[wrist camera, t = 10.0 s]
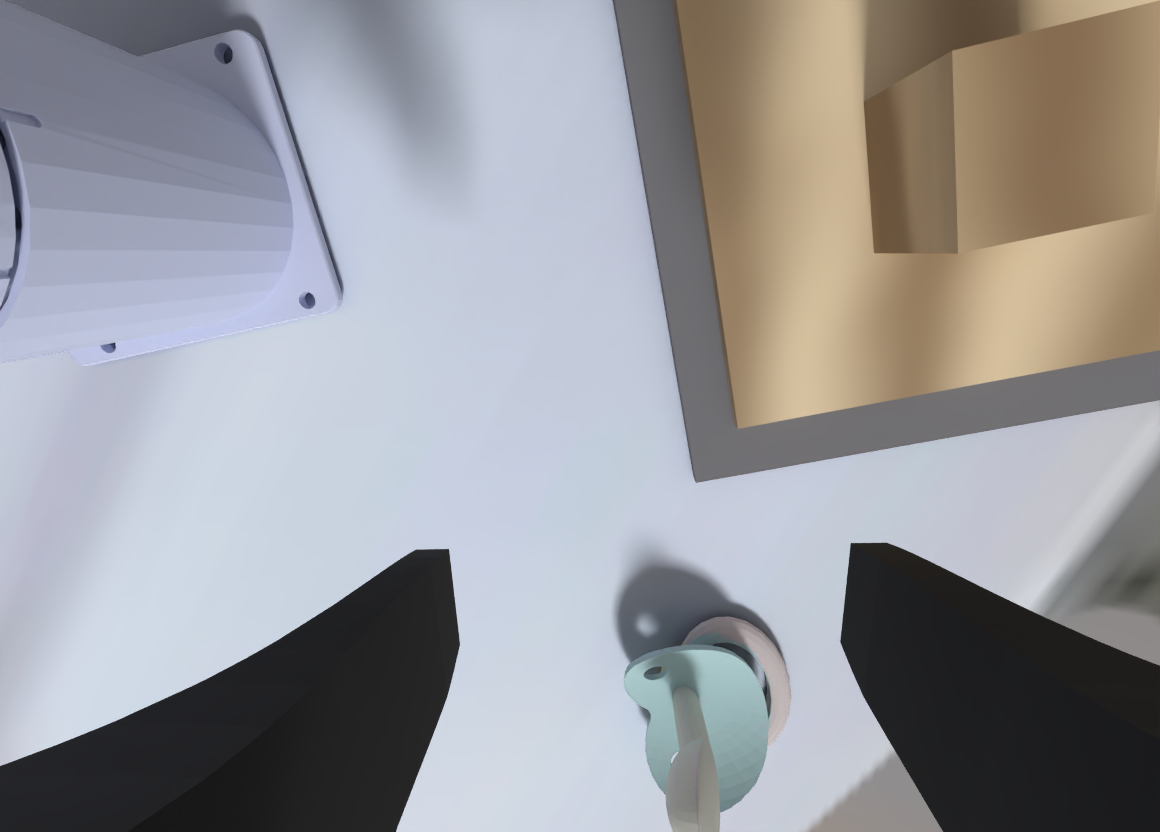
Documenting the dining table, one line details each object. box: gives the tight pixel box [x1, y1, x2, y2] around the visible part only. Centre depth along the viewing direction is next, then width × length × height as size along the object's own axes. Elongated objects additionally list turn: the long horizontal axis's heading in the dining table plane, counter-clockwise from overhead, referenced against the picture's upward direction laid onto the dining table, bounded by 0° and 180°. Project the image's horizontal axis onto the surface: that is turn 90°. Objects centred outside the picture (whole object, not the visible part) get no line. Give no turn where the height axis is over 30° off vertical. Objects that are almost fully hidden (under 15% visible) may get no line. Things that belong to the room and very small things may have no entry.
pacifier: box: [624, 616, 791, 832], centre depth 19 cm, size 7×6×6 cm
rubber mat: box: [613, 0, 1160, 483], centre depth 16 cm, size 16×16×1 cm
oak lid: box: [672, 0, 1160, 429], centre depth 14 cm, size 13×13×5 cm
